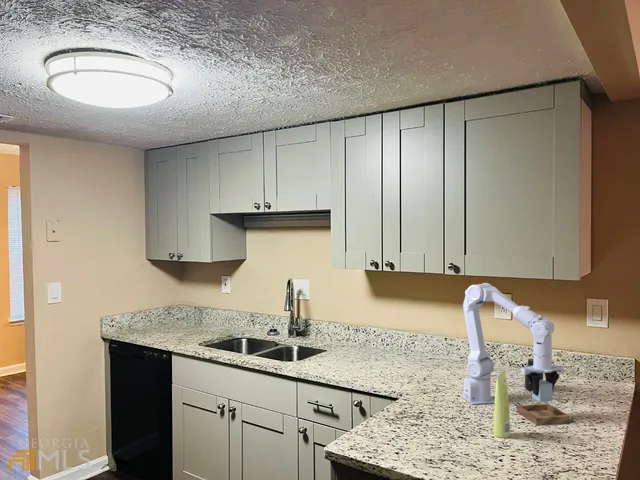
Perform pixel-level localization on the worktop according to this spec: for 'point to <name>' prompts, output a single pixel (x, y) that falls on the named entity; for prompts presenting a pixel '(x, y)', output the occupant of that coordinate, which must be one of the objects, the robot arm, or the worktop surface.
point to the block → (544, 392)
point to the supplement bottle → (527, 382)
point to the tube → (501, 408)
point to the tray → (543, 414)
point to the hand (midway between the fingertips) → (542, 393)
